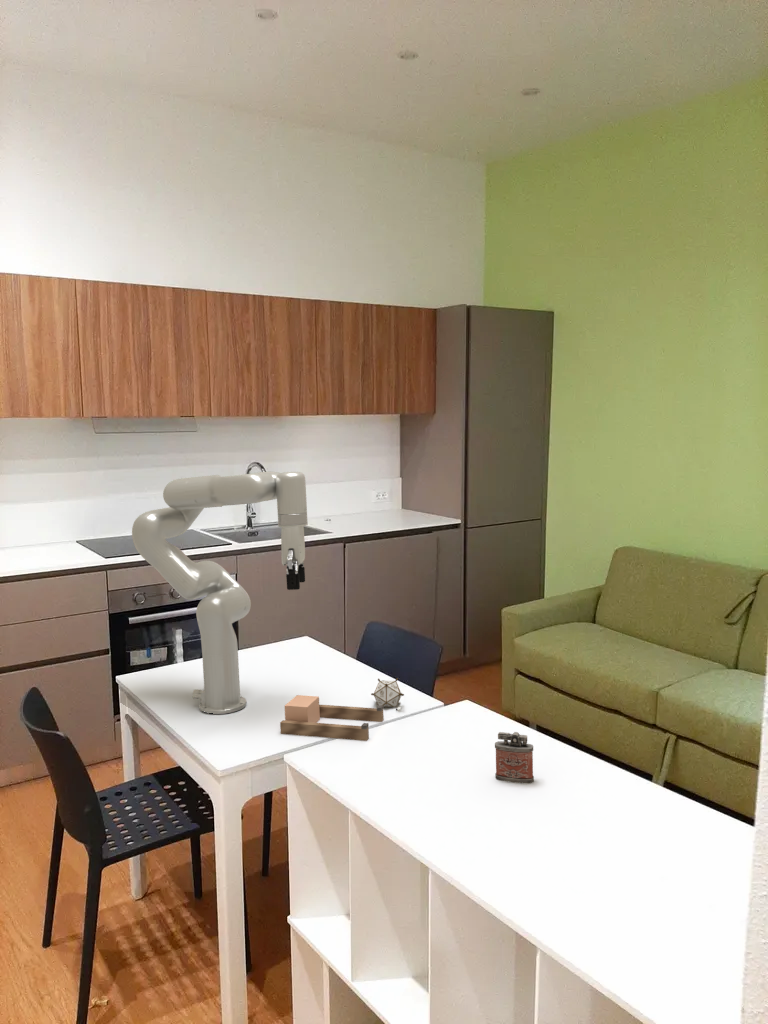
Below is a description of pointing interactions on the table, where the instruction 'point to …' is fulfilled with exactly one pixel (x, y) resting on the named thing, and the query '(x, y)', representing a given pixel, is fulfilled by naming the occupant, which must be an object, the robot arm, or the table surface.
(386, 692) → the game die
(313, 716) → the block
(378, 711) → the chute
